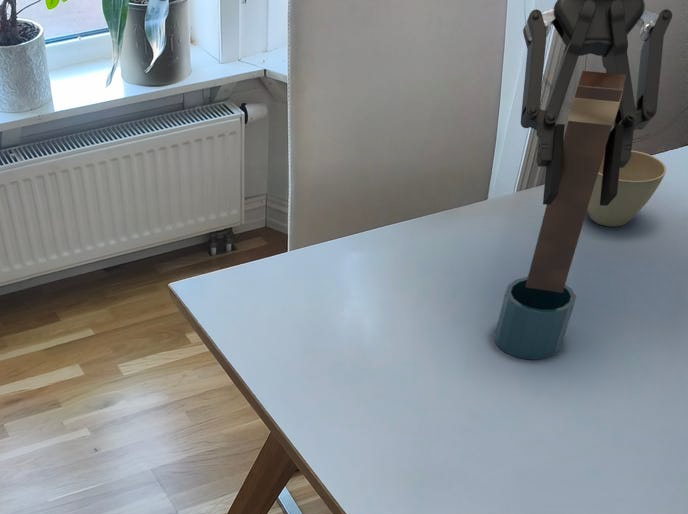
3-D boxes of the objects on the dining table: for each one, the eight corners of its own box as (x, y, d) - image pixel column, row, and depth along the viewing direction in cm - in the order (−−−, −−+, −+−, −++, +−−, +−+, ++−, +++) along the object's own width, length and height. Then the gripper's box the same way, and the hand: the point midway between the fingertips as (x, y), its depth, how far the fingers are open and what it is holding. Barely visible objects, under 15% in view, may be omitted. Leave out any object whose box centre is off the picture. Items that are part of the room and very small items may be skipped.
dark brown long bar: (568, 275, 99) (627, 74, 83) (563, 294, 96) (623, 90, 81) (529, 269, 100) (581, 70, 84) (524, 287, 97) (576, 86, 82)
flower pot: (626, 243, 118) (645, 188, 112) (558, 220, 122) (573, 166, 116) (659, 215, 122) (679, 161, 117) (592, 195, 127) (608, 142, 121)
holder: (564, 330, 105) (579, 282, 101) (555, 364, 101) (571, 317, 96) (500, 318, 107) (512, 272, 102) (489, 352, 103) (501, 305, 98)
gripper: (683, -28, 88) (657, 215, 90) (499, -26, 90) (479, 212, 92) (718, -81, 80) (689, 185, 83) (517, -79, 82) (495, 182, 85)
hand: (579, 199), depth 87 cm, fingers closed on dark brown long bar, 5 cm apart
